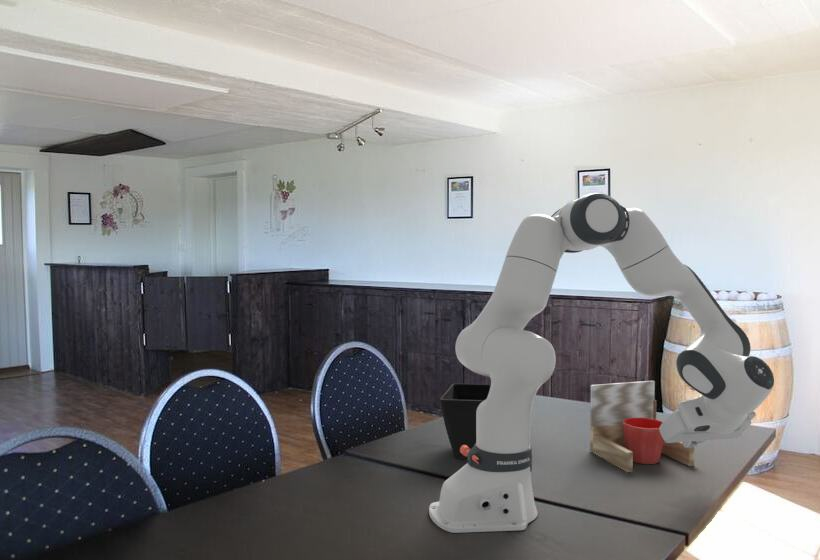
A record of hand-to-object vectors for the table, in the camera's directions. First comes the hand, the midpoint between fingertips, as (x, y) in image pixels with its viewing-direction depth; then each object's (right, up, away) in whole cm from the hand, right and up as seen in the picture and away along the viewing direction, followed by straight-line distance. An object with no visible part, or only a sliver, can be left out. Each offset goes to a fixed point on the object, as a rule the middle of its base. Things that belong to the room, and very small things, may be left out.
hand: (688, 444), depth 158 cm
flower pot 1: (-45, -8, +24) cm, 52 cm away
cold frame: (-4, -8, +19) cm, 21 cm away
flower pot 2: (-4, -8, +18) cm, 21 cm away
